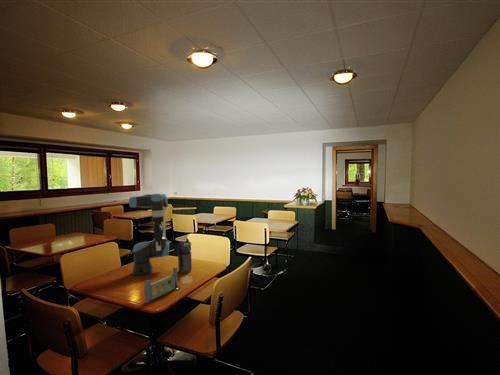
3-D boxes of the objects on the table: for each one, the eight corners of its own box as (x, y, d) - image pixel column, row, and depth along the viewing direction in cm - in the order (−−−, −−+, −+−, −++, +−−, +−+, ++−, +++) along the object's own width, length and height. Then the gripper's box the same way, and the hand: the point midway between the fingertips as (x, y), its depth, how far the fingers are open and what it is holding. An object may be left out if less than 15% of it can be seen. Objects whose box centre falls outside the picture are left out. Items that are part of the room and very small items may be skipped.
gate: (172, 287, 164) (172, 274, 164) (175, 288, 162) (174, 275, 162) (149, 298, 149) (148, 284, 149) (152, 299, 148) (151, 285, 147)
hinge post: (169, 289, 164) (168, 267, 163) (176, 285, 169) (175, 264, 168) (175, 291, 160) (174, 269, 160) (182, 287, 165) (181, 266, 165)
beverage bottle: (174, 274, 190) (173, 242, 189) (183, 268, 202) (182, 237, 201) (185, 275, 187) (184, 242, 186) (194, 269, 199) (193, 238, 198)
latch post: (143, 302, 147) (143, 281, 146) (148, 300, 149) (148, 279, 149) (147, 304, 145) (146, 282, 144) (151, 301, 148) (151, 280, 147)
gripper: (148, 215, 171) (149, 249, 172) (156, 218, 161) (157, 253, 162) (159, 214, 176) (160, 247, 177) (167, 216, 166) (168, 251, 167)
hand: (158, 250), depth 170 cm, fingers closed
